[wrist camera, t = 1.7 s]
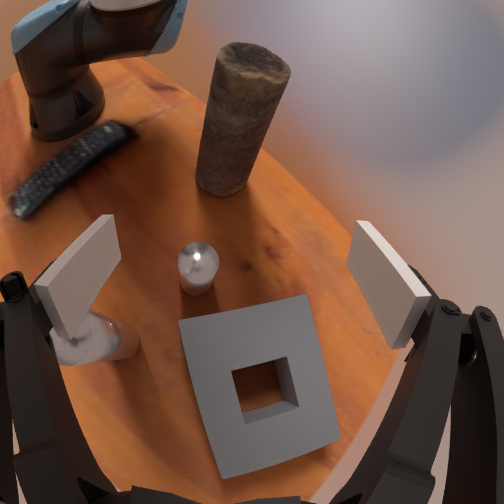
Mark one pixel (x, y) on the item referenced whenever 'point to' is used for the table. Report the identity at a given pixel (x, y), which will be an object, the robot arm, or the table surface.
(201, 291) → the short pin
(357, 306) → the table surface
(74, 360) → the long pin
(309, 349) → the guide block
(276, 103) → the brown textured cylinder
